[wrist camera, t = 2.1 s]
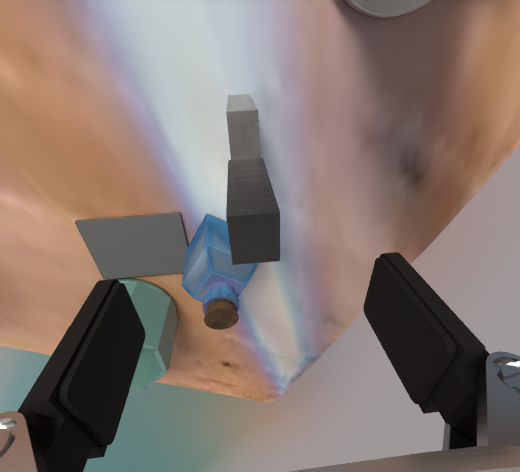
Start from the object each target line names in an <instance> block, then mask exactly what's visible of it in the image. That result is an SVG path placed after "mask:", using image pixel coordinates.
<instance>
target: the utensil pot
mask: <svg viewBox="0 0 520 472" xmlns="http://www.w3.org/2000/svg"><path fill="white" fill-rule="evenodd" d="M117 280H119V282H120V283H124V284H125V286H126V288H127V291H128V293H129V295H130V297H131V300H132V302H133V304H134V306H135V309H136V311H137V313H138V315H139V318H140V320H141V322H142V324H143V327H144V329H145V341H144V344H143V347H142V351H141V354H140V357H139V360H138V364H137V367H136V370H135V373H134V377H133V380H132V383H131V386H130V390H129V391H134V390H143V389H148V388H149V387H150V386H151V385H153V384H154V383H155V382H156V381H157V380H159V379H160V378H161V377H162V376H163V375H165V374H166V373H167V372H168V368H169V363H170V359H171V354H172V349H173V344H174V339H175V334H176V330H177V325H178V318H177V315H176V313H177V308H176V304H175V301H174V300H173V298H172V297H171V295H170V294H169V293H168V292H166V291H165V290H164V289H163V288H161V287H159V286H158V285H156V284H153V283H151V282H148V281H145V280H140V279H134V278H120V279H117Z"/></svg>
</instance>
